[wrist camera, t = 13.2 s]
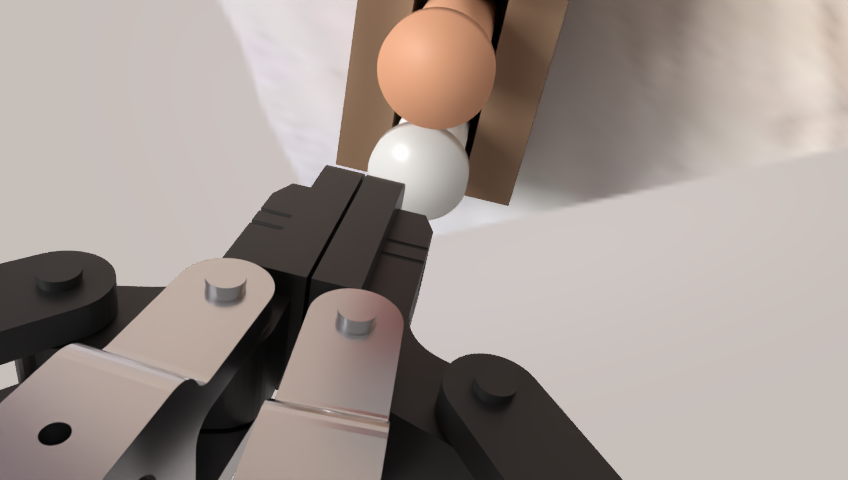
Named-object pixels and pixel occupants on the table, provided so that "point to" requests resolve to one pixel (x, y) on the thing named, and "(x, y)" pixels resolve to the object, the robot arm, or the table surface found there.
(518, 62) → the walnut block
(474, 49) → the plug terracotta
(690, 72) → the table surface
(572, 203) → the table surface
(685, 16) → the table surface
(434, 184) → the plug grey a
